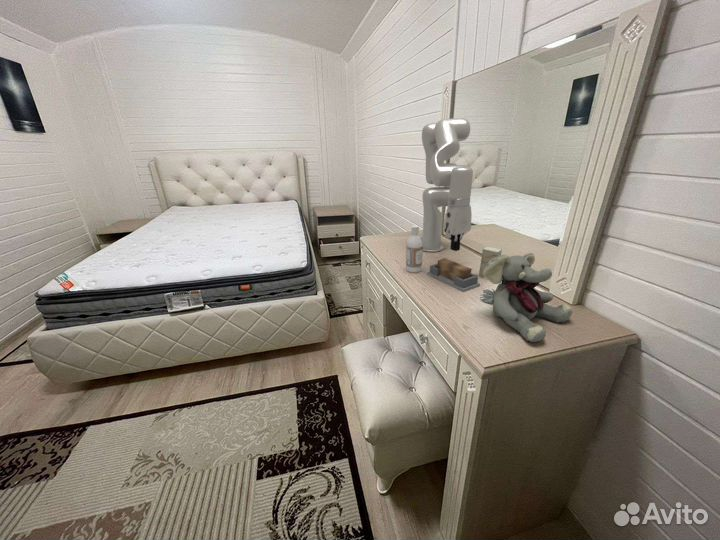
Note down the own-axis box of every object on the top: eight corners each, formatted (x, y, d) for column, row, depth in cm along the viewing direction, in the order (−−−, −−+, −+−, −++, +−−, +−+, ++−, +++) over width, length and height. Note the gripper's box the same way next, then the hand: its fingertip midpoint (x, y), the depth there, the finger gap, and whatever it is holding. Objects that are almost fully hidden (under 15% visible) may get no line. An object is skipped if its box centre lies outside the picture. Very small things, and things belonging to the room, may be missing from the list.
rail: (427, 274, 126) (427, 265, 124) (442, 269, 130) (443, 261, 129) (463, 291, 110) (464, 282, 108) (479, 285, 114) (481, 276, 112)
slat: (436, 273, 124) (437, 260, 122) (443, 271, 126) (444, 258, 123) (462, 285, 113) (464, 271, 110) (469, 282, 115) (471, 268, 112)
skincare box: (478, 276, 122) (481, 248, 117) (482, 273, 125) (486, 246, 120) (493, 280, 118) (498, 252, 113) (497, 276, 121) (502, 248, 116)
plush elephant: (580, 324, 88) (599, 260, 80) (534, 348, 79) (550, 279, 71) (502, 290, 110) (511, 237, 102) (459, 306, 101) (465, 249, 93)
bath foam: (413, 274, 127) (414, 229, 119) (402, 269, 132) (403, 226, 124) (425, 270, 130) (427, 226, 122) (414, 265, 135) (415, 223, 128)
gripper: (452, 206, 101) (448, 256, 109) (481, 201, 108) (475, 248, 115) (436, 203, 107) (433, 251, 115) (465, 199, 114) (460, 243, 121)
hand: (454, 249), depth 115 cm, fingers closed
